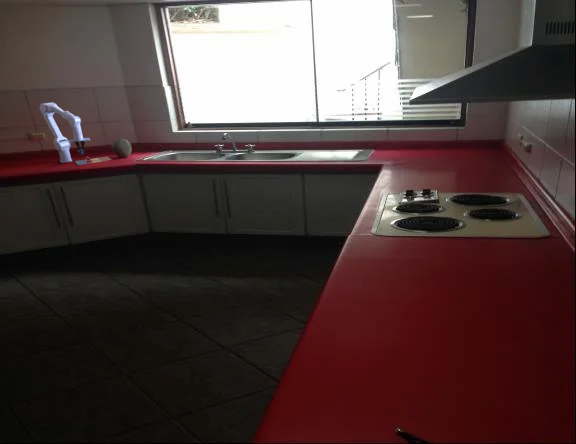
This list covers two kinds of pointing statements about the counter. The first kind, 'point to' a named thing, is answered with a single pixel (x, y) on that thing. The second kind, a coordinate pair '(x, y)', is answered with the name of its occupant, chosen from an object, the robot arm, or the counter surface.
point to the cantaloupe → (121, 148)
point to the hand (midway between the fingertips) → (81, 151)
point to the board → (93, 160)
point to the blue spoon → (81, 151)
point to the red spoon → (89, 160)
